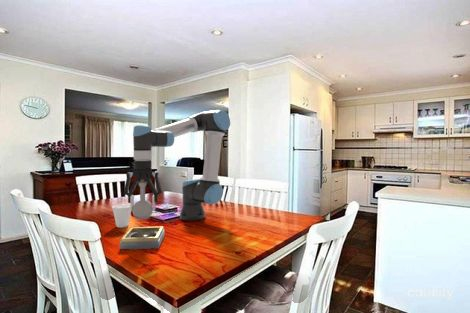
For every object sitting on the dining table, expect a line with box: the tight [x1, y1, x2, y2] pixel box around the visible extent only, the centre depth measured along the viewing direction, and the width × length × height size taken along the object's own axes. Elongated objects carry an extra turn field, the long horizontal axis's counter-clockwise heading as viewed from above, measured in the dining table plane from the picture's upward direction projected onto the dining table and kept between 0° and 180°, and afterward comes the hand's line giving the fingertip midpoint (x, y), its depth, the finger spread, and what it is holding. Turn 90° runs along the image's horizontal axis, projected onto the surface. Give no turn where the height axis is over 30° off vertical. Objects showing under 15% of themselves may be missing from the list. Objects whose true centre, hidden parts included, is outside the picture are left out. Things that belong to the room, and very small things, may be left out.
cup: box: [111, 203, 132, 229], centre depth 141 cm, size 10×10×11 cm
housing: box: [119, 226, 166, 250], centre depth 118 cm, size 16×16×4 cm
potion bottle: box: [131, 179, 154, 220], centre depth 117 cm, size 9×9×18 cm
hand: (143, 209), depth 118 cm, fingers closed on potion bottle, 9 cm apart
